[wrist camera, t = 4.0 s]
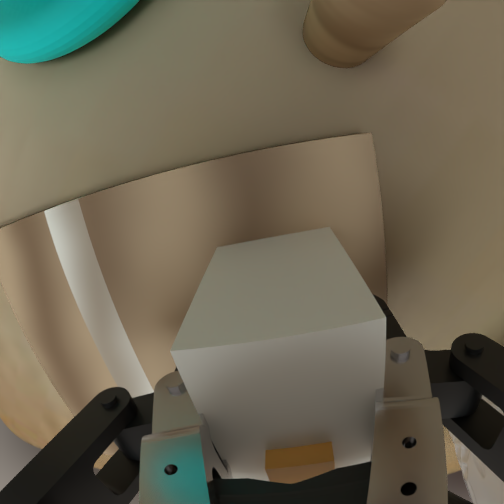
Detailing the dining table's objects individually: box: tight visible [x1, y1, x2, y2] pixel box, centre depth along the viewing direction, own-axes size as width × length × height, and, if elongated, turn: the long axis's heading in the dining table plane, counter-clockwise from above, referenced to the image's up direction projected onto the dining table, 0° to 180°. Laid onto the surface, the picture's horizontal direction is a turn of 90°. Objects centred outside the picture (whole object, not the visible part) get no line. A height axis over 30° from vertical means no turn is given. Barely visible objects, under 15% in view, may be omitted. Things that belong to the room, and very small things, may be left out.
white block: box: [170, 227, 386, 484], centre depth 9 cm, size 4×6×7 cm, turn 12°
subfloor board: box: [0, 133, 387, 455], centre depth 14 cm, size 18×16×1 cm
